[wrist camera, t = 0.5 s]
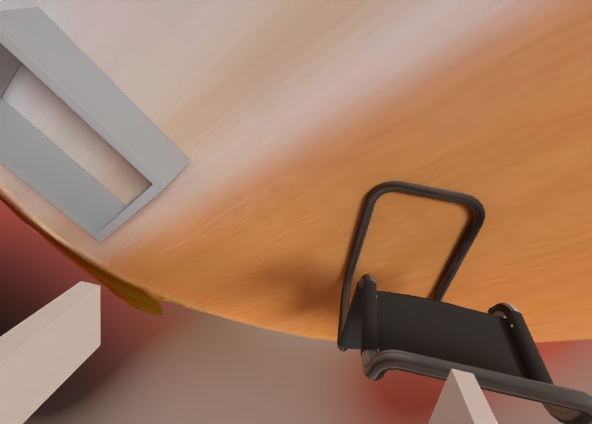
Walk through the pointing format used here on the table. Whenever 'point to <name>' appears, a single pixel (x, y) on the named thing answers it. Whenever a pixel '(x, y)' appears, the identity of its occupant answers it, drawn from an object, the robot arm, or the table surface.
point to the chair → (448, 328)
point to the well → (92, 109)
